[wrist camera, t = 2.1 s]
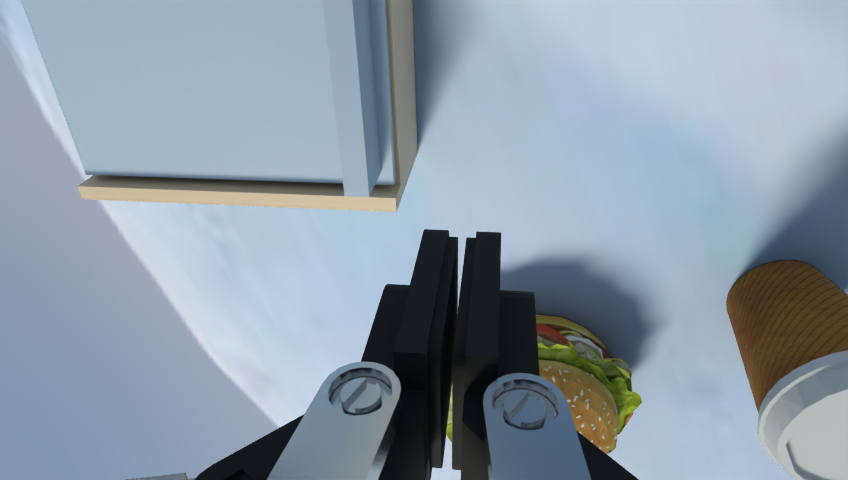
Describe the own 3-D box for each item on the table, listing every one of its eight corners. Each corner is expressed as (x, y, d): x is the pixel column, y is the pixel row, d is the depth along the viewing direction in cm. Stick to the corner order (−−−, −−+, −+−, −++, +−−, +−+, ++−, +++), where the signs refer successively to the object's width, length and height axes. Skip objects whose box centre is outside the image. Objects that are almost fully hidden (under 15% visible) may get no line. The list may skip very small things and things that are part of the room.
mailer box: (94, -72, 31) (-20, -63, 25) (409, -80, 29) (379, -72, 22) (157, 145, 38) (82, 199, 31) (417, 152, 36) (396, 211, 29)
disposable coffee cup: (723, 233, 36) (806, 364, 26) (881, 244, 35) (1031, 385, 25) (685, 343, 41) (743, 489, 31) (822, 356, 40) (928, 511, 30)
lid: (17, -36, 26) (-47, -27, 23) (382, -42, 24) (364, -33, 21) (92, 170, 32) (49, 199, 29) (395, 180, 30) (382, 212, 27)
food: (510, 264, 40) (510, 338, 33) (661, 356, 42) (689, 443, 36) (411, 373, 47) (395, 453, 40) (546, 447, 49) (552, 534, 42)
